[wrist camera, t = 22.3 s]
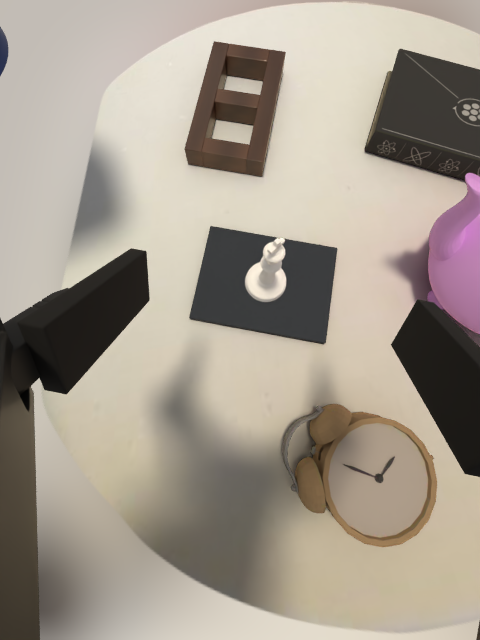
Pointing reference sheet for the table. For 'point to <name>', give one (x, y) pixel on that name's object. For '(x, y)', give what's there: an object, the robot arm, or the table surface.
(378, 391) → the table surface
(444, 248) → the teapot
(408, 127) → the book
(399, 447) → the alarm clock
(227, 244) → the mat
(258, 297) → the chess piece
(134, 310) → the robot arm
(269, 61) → the holder
